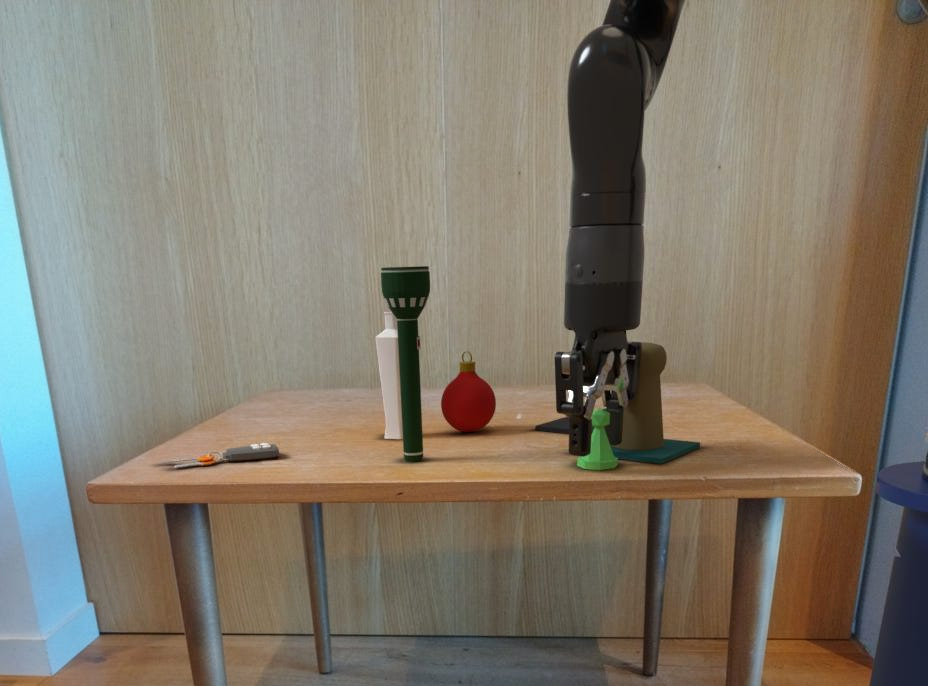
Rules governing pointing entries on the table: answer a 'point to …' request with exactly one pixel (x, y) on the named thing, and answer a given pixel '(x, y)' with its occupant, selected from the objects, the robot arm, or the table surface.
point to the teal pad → (657, 452)
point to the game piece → (599, 445)
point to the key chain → (235, 455)
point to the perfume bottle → (390, 376)
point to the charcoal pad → (556, 426)
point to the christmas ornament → (468, 400)
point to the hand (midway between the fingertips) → (595, 449)
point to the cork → (645, 403)
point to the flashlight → (408, 346)
